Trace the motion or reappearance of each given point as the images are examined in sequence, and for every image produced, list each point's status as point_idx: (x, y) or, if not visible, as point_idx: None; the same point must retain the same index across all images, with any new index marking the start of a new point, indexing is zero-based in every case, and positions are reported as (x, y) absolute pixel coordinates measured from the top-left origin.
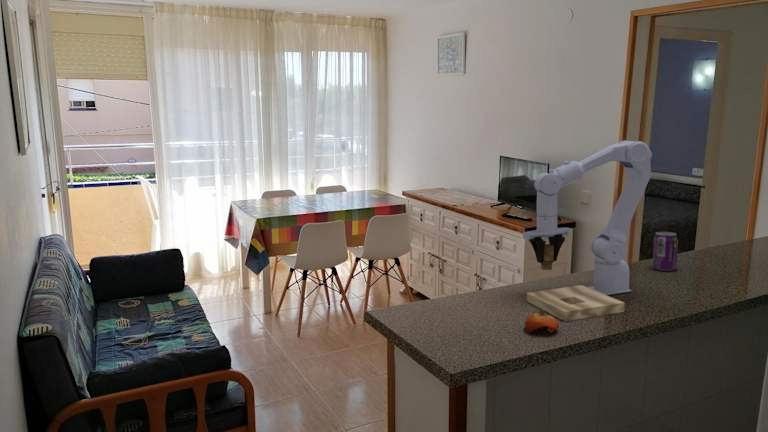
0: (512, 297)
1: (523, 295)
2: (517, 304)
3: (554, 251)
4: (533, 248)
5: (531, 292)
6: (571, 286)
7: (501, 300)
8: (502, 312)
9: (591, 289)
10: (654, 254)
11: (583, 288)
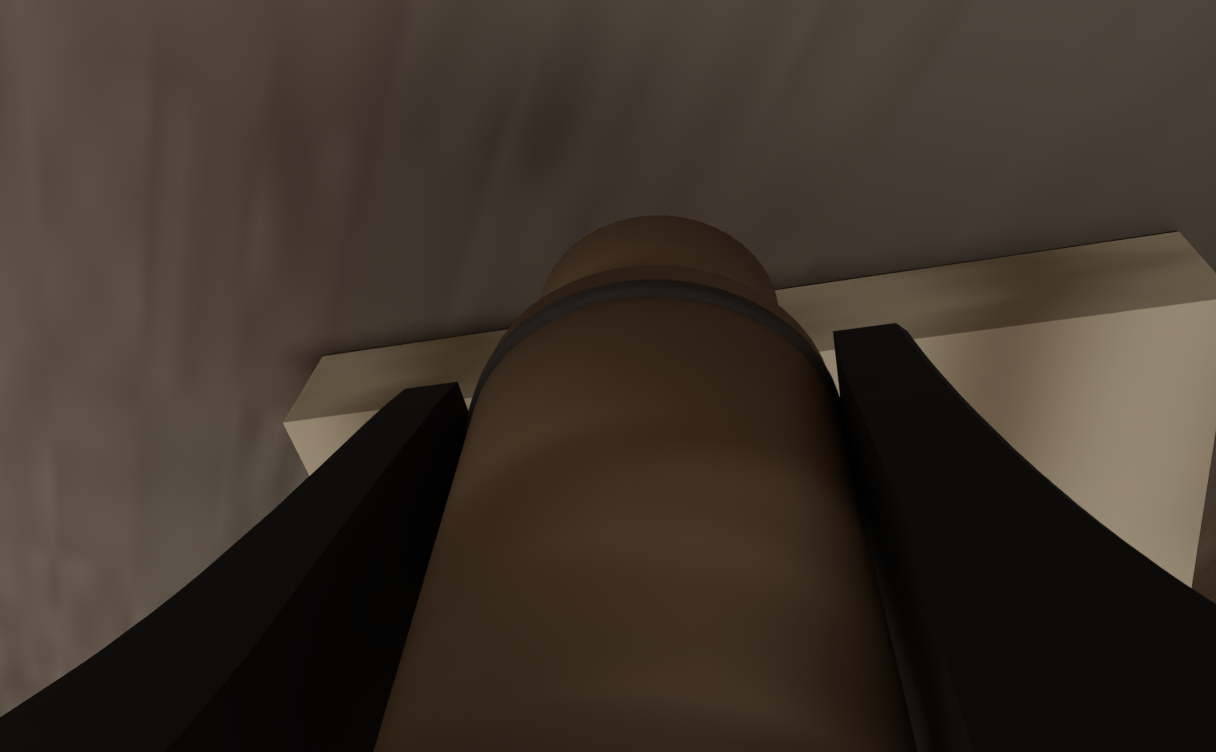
0: (156, 167)
1: (320, 117)
2: (202, 416)
3: (905, 689)
4: (116, 650)
5: (345, 423)
6: (1027, 327)
7: (12, 248)
8: (45, 565)
9: (1191, 508)
10: None
11: (1126, 445)
